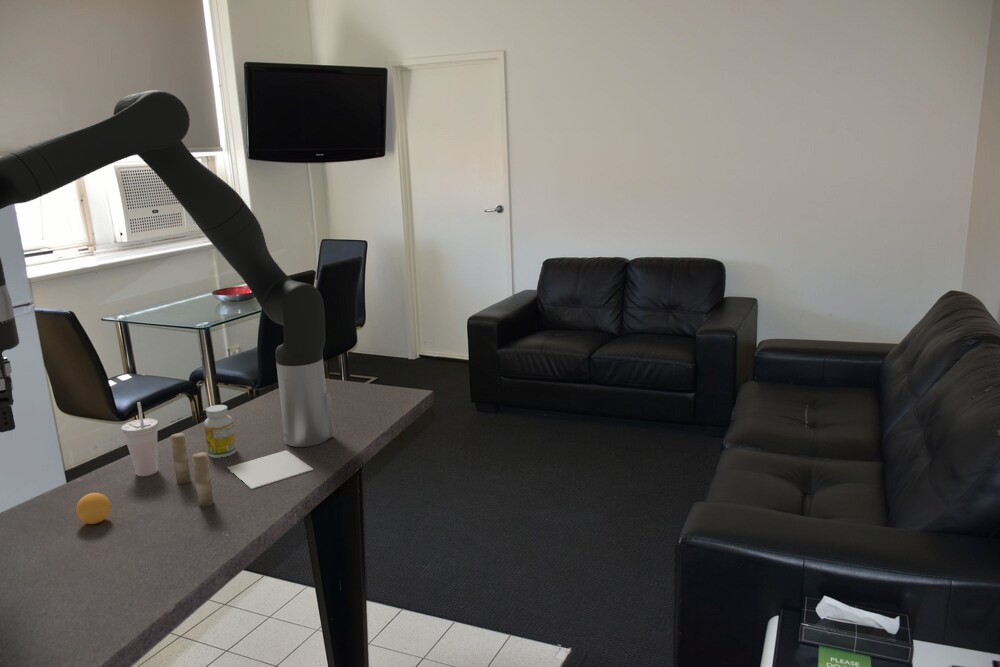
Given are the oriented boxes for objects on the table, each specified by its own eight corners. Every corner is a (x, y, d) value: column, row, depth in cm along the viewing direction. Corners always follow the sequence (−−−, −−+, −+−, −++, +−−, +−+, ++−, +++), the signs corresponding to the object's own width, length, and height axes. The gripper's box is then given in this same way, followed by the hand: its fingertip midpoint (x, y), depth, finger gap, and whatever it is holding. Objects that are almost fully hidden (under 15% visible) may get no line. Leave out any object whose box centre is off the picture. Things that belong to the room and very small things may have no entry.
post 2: (210, 499, 131) (204, 451, 128) (215, 503, 129) (209, 455, 127) (196, 503, 129) (189, 455, 127) (201, 508, 127) (194, 459, 125)
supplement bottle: (237, 455, 149) (231, 410, 146) (208, 460, 147) (202, 414, 144) (235, 446, 153) (230, 401, 151) (207, 450, 152) (201, 406, 149)
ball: (108, 511, 127) (104, 484, 126) (116, 522, 123) (111, 494, 122) (75, 521, 124) (70, 493, 123) (82, 532, 120) (77, 504, 119)
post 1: (188, 477, 140) (182, 432, 137) (192, 481, 138) (186, 435, 136) (175, 480, 138) (168, 435, 136) (179, 485, 136) (172, 439, 134)
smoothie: (151, 480, 139) (140, 409, 135) (120, 478, 140) (109, 407, 136) (172, 466, 145) (162, 397, 141) (143, 463, 146) (132, 395, 142)
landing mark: (286, 451, 150) (286, 450, 150) (313, 469, 141) (313, 468, 141) (227, 468, 143) (226, 467, 143) (251, 489, 134) (251, 488, 134)
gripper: (20, 321, 106) (42, 435, 110) (7, 306, 116) (27, 412, 120) (-44, 330, 101) (-18, 449, 106) (-52, 314, 111) (-29, 424, 116)
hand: (6, 429), depth 113 cm, fingers closed
